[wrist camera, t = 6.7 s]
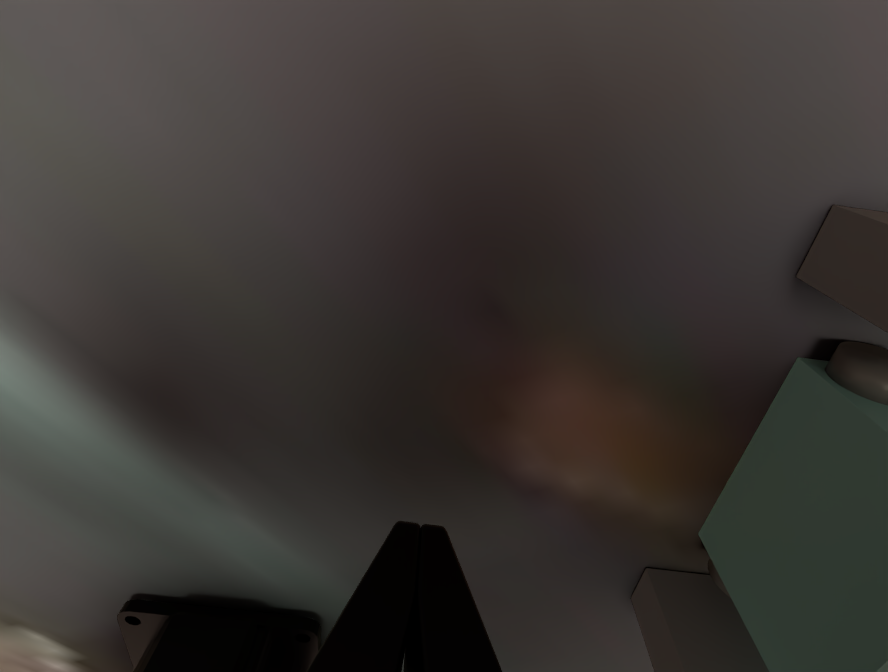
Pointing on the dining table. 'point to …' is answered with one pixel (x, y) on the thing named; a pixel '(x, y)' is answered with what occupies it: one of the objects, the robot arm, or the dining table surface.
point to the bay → (696, 595)
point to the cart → (812, 519)
